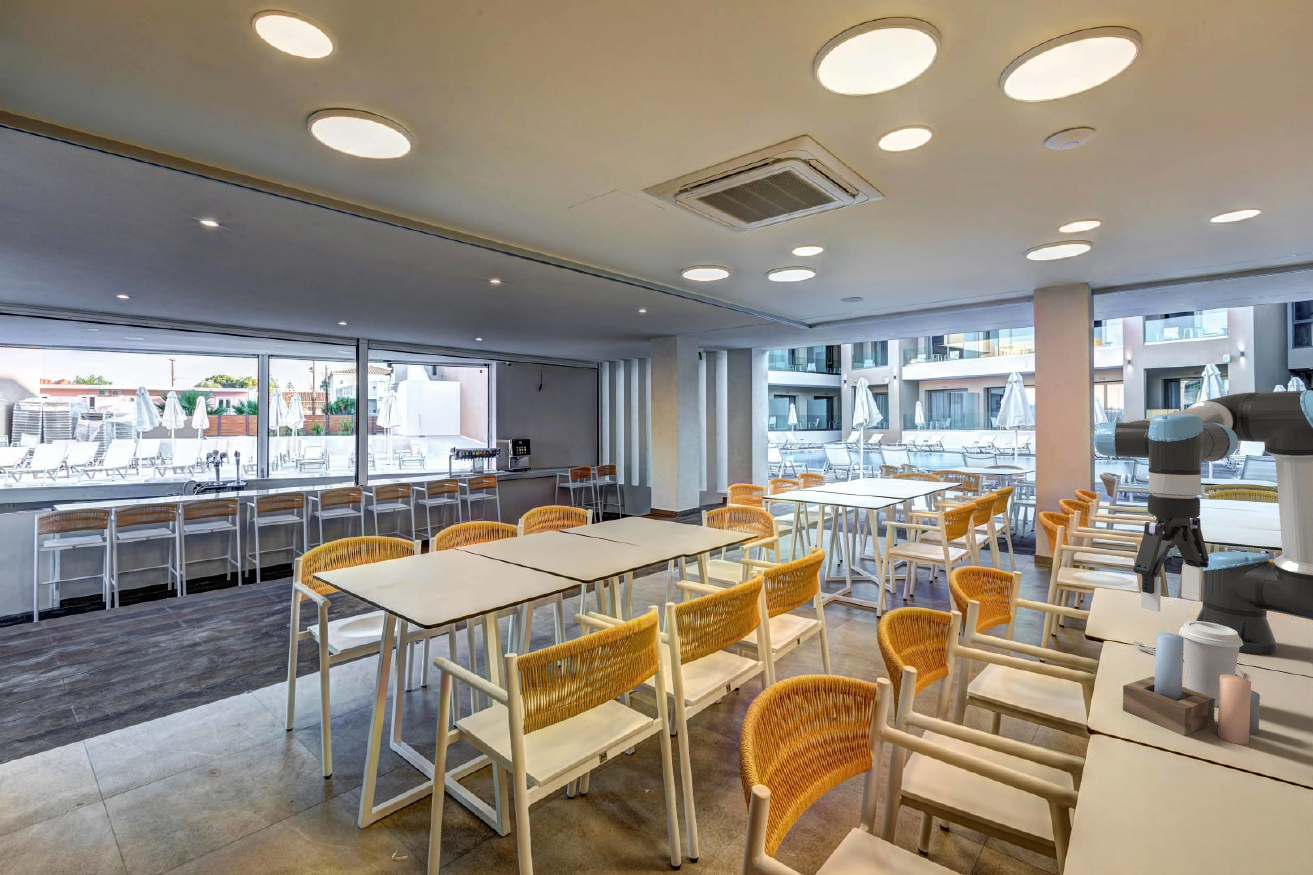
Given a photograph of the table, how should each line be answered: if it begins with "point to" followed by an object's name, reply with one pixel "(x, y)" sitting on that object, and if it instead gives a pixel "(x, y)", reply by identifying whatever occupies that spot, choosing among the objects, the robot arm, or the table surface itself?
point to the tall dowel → (1169, 665)
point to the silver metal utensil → (1152, 651)
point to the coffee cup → (1209, 655)
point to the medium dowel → (1234, 709)
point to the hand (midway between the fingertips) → (1171, 604)
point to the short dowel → (1254, 713)
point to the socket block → (1169, 707)
